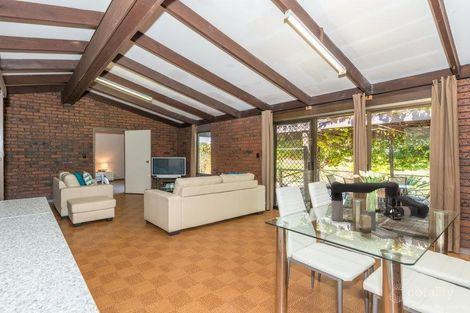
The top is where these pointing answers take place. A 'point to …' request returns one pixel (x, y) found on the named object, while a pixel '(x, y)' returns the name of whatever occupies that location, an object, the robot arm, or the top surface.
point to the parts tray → (382, 233)
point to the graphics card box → (392, 204)
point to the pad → (366, 237)
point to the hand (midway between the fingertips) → (379, 212)
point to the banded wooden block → (365, 226)
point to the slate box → (372, 218)
